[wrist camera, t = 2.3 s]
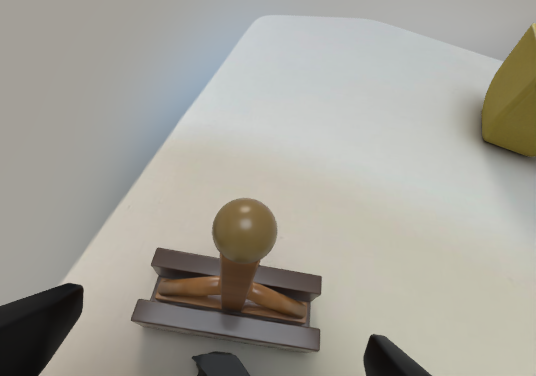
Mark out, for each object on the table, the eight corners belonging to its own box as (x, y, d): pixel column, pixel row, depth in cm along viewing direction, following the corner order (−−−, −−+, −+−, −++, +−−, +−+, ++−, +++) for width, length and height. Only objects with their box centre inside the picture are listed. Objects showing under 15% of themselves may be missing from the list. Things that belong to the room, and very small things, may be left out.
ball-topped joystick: (301, 331, 17) (424, 283, 7) (156, 307, 17) (45, 215, 6) (303, 300, 18) (413, 216, 8) (166, 277, 18) (83, 154, 7)
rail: (306, 353, 17) (319, 351, 15) (142, 326, 17) (129, 320, 14) (309, 286, 19) (322, 275, 17) (165, 261, 19) (156, 246, 16)
